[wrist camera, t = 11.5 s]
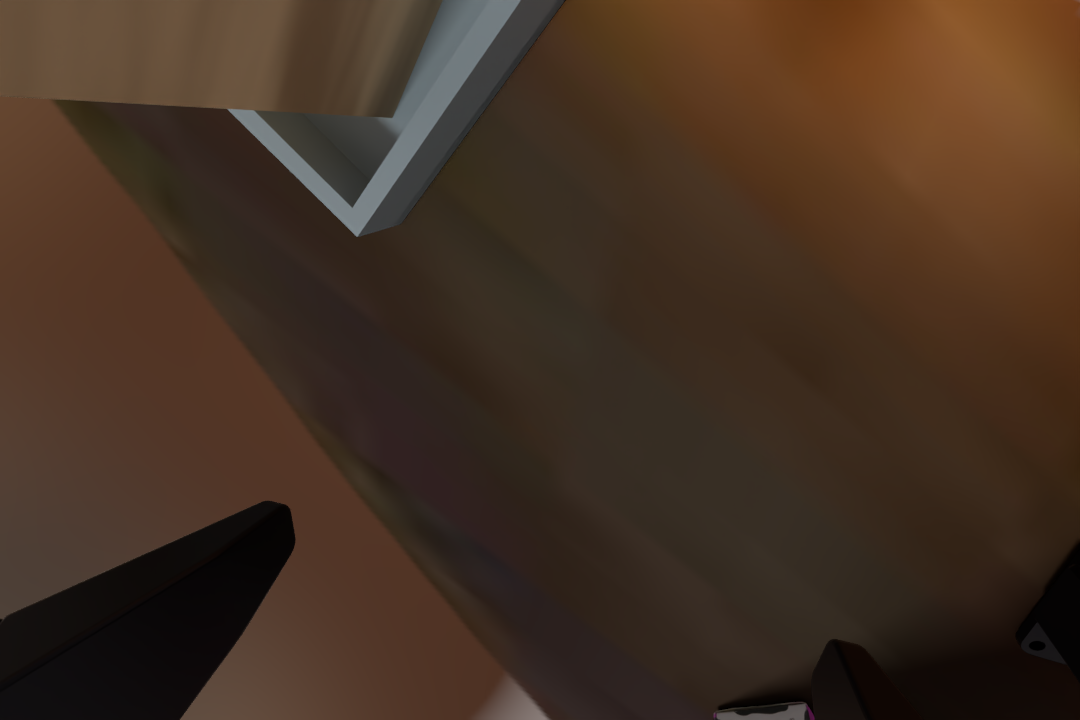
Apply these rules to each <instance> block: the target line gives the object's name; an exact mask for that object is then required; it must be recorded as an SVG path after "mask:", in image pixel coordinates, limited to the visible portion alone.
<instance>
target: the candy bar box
mask: <svg viewBox="0 0 1080 720" xmlns="http://www.w3.org/2000/svg"><path fill="white" fill-rule="evenodd" d="M714 720H815V719H814V715H813V713H812V712H811V710H810V708H809V707H808V705H807V704H806V703H805V702H790V703H782V704H773V705H764V706H750V707H740V708H731V709H725V710H720V711H716V712H714Z"/></svg>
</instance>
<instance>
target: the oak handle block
mask: <svg viewBox="0 0 1080 720" xmlns="http://www.w3.org/2000/svg"><path fill="white" fill-rule="evenodd" d="M442 1H443V0H0V96H9V97H27V98H44V99H62V100H79V101H97V102H115V103H133V104H151V105H169V106H187V107H205V108H222V109H240V110H258V111H276V112H294V113H312V114H330V115H348V116H365V117H383V118H393V115H394V113H395V111H396V108H397V106H398V104H399V101H400V99H401V97H402V94H403V92H404V90H405V87H406V85H407V83H408V80H409V78H410V76H411V73H412V71H413V69H414V66H415V64H416V62H417V59H418V57H419V55H420V52H421V50H422V47H423V45H424V43H425V40H426V38H427V36H428V33H429V31H430V29H431V26H432V24H433V22H434V19H435V17H436V15H437V12H438V10H439V8H440V5H441V3H442Z"/></svg>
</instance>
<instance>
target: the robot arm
mask: <svg viewBox="0 0 1080 720" xmlns="http://www.w3.org/2000/svg"><path fill="white" fill-rule="evenodd" d="M294 545H295V533H294V527H293V521H292V516H291V511H290V508H289V507H288V506H287V505H285V504H281V503H277V502H273V501H263V502H261V503H258V504H256V505H254V506H251V507H249V508H247V509H245V510H243V511H240V512H238V513H236V514H234V515H231V516H229V517H227V518H225V519H222V520H220V521H218V522H216V523H213V524H211V525H209V526H207V527H204V528H202V529H200V530H198V531H195V532H193V533H191V534H189V535H186V536H184V537H182V538H180V539H177V540H175V541H173V542H171V543H168V544H166V545H164V546H162V547H159V548H157V549H155V550H153V551H151V552H148V553H146V554H144V555H141V556H140V557H137V558H135V559H132V560H130V561H128V562H126V563H123V564H121V565H119V566H117V567H115V568H112V569H110V570H108V571H105V572H103V573H101V574H99V575H96V576H94V577H92V578H90V579H87V580H85V581H83V582H81V583H78V584H76V585H74V586H72V587H69V588H67V589H65V590H63V591H61V592H58V593H56V594H54V595H51V596H49V597H47V598H44V599H42V600H40V601H38V602H36V603H33V604H31V605H29V606H26V607H24V608H22V609H20V610H17V611H15V612H13V613H11V614H9V615H7V616H6V617H5V618H4V619H0V720H180V719H181V717H182V716H183V715H184V713H185V712H186V711H187V709H188V708H189V706H190V705H191V703H192V702H193V701H194V700H195V698H196V697H197V696H198V694H199V693H200V692H201V690H202V689H203V687H204V686H205V685H206V683H207V682H208V681H209V679H210V678H211V676H212V675H213V674H214V672H215V671H216V670H217V668H218V667H219V666H220V664H221V663H222V662H223V660H224V659H225V657H226V656H227V655H228V653H229V652H230V651H231V649H232V648H233V647H234V645H235V644H236V642H237V641H238V639H239V638H240V636H241V635H242V634H243V632H244V631H245V629H246V627H247V626H248V624H249V623H250V621H251V620H252V618H253V616H254V615H255V613H256V611H257V610H258V608H259V606H260V605H261V603H262V602H263V600H264V598H265V596H266V595H267V593H268V592H269V590H270V588H271V586H272V585H273V583H274V582H275V580H276V578H277V577H278V575H279V573H280V572H281V570H282V568H283V567H284V565H285V563H286V562H287V560H288V558H289V557H290V555H291V553H292V551H293V549H294ZM1015 637H1016V640H1017V642H1018V643H1019V645H1020V647H1021V648H1022V649H1023V650H1024V651H1025V652H1026V653H1029V654H1031V655H1034V656H1038V657H1041V658H1045V659H1048V660H1052V661H1055V662H1059V663H1062V664H1065V665H1067V666H1068V667H1069V668H1070V670H1071V671H1072V673H1073V674H1074V676H1075V677H1076V678H1077V680H1078V681H1079V683H1080V550H1079V551H1078V553H1077V554H1076V555H1075V557H1074V558H1073V559H1072V560H1071V562H1070V563H1069V564H1068V566H1067V567H1066V568H1065V570H1064V571H1063V572H1062V574H1061V575H1060V576H1059V578H1058V579H1057V580H1056V582H1055V583H1054V584H1053V585H1052V587H1051V588H1050V589H1049V591H1048V592H1047V593H1046V595H1045V596H1044V597H1043V599H1042V600H1041V601H1040V603H1039V604H1038V605H1037V606H1036V608H1035V609H1034V610H1033V612H1032V613H1031V614H1030V616H1029V617H1028V618H1027V620H1026V621H1025V622H1024V624H1023V625H1022V626H1021V628H1020V629H1019V630H1018V631H1017V633H1016V636H1015ZM811 690H812V700H813V709H814V719H815V720H924V719H923V718H922V717H921V716H920V714H919V713H918V712H917V711H916V710H915V708H914V707H913V706H912V705H911V704H910V702H909V701H908V700H907V699H906V698H905V696H904V695H903V694H902V693H901V692H900V690H899V689H898V688H897V687H896V686H895V684H894V683H893V682H892V681H891V679H890V678H889V677H888V676H887V675H886V673H885V672H884V671H883V670H882V669H881V667H880V666H879V665H878V664H877V663H876V661H875V660H874V659H873V658H872V657H871V655H870V654H869V653H868V652H867V651H866V650H865V649H864V648H863V647H862V646H860V645H858V644H854V643H850V642H846V641H842V640H838V639H832V640H830V641H829V642H828V643H827V644H826V646H825V649H824V651H823V653H822V655H821V657H820V659H819V661H818V663H817V665H816V667H815V669H814V672H813V675H812V681H811Z"/></svg>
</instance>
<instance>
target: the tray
mask: <svg viewBox="0 0 1080 720" xmlns="http://www.w3.org/2000/svg"><path fill="white" fill-rule="evenodd" d="M564 1H565V0H443V1H442V3H441V5H440V8H439V10H438V12H437V15H436V17H435V19H434V22H433V24H432V26H431V29H430V31H429V33H428V36H427V38H426V40H425V43H424V45H423V47H422V50H421V52H420V55H419V57H418V59H417V62H416V64H415V66H414V69H413V71H412V73H411V76H410V78H409V80H408V83H407V85H406V87H405V90H404V92H403V94H402V97H401V99H400V101H399V104H398V106H397V108H396V111H395V113H394V115H393V118H383V117H365V116H348V115H330V114H312V113H294V112H276V111H258V110H240V109H228V110H229V111H230V112H231V113H232V114H233V115H234V116H235V117H236V118H237V119H238V120H239V121H240V122H241V123H242V124H243V125H244V126H245V127H246V128H247V129H248V130H249V131H250V132H251V133H252V134H253V135H254V136H255V137H256V138H257V139H258V140H259V141H260V142H261V143H262V144H263V145H264V146H265V147H266V148H267V149H268V150H269V151H270V152H271V153H272V154H274V155H275V156H276V157H277V158H278V159H279V160H280V161H281V162H282V163H283V164H284V165H285V166H286V167H287V168H288V169H289V170H290V171H291V172H292V173H293V174H294V175H295V176H296V177H297V178H298V179H299V180H300V181H301V182H302V183H303V184H304V185H305V186H306V187H307V188H308V189H309V190H310V191H311V192H312V193H313V194H314V195H315V196H316V197H317V198H318V199H319V200H320V201H321V202H322V203H323V204H324V205H325V206H326V207H327V208H328V209H329V210H330V211H331V212H332V213H333V214H334V215H335V216H337V217H338V218H339V219H340V220H341V221H342V222H343V223H344V224H345V225H346V226H347V227H348V228H349V229H350V230H351V231H352V232H353V233H354V234H355V235H356V236H357V237H359V236H362V235H366V234H369V233H373V232H376V231H379V230H383V229H386V228H389V227H393V226H396V225H400V224H401V223H402V222H403V221H404V219H405V218H406V216H407V215H408V214H409V212H410V211H411V210H412V208H413V207H414V206H415V204H416V203H417V201H418V200H419V199H420V197H421V196H422V195H423V193H424V192H425V191H426V189H427V188H428V186H429V185H430V184H431V182H432V181H433V180H434V178H435V177H436V176H437V174H438V173H439V172H440V170H441V169H442V167H443V166H444V165H445V163H446V162H447V161H448V159H449V158H450V157H451V155H452V154H453V152H454V151H455V150H456V148H457V147H458V146H459V144H460V143H461V142H462V140H463V139H464V137H465V136H466V135H467V133H468V132H469V131H470V129H471V128H472V127H473V125H474V124H475V123H476V121H477V120H478V118H479V117H480V116H481V114H482V113H483V112H484V110H485V109H486V108H487V106H488V105H489V103H490V102H491V101H492V99H493V98H494V97H495V95H496V94H497V93H498V91H499V90H500V88H501V87H502V86H503V84H504V83H505V82H506V80H507V79H508V78H509V76H510V75H511V73H512V72H513V71H514V69H515V68H516V67H517V65H518V64H519V63H520V61H521V60H522V59H523V57H524V56H525V54H526V53H527V52H528V50H529V49H530V48H531V46H532V45H533V44H534V42H535V41H536V39H537V38H538V37H539V35H540V34H541V33H542V31H543V30H544V29H545V27H546V26H547V24H548V23H549V22H550V20H551V19H552V18H553V16H554V15H555V14H556V12H557V11H558V9H559V8H560V7H561V5H562V4H563V3H564Z"/></svg>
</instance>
